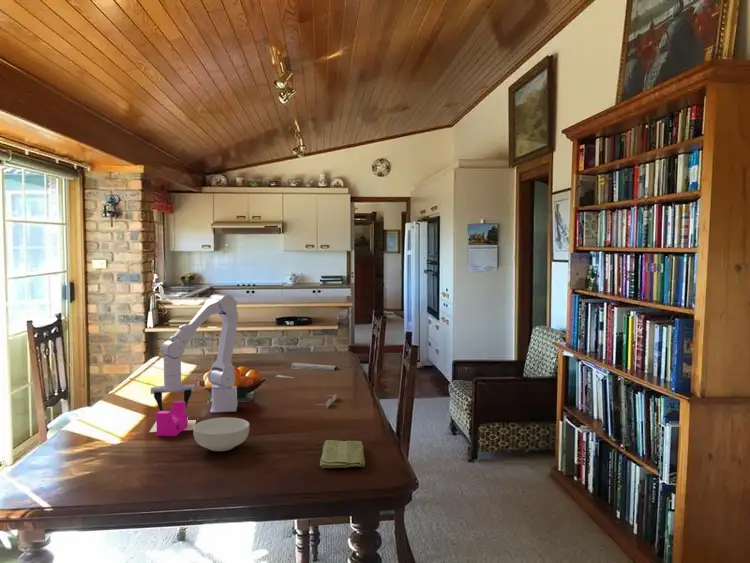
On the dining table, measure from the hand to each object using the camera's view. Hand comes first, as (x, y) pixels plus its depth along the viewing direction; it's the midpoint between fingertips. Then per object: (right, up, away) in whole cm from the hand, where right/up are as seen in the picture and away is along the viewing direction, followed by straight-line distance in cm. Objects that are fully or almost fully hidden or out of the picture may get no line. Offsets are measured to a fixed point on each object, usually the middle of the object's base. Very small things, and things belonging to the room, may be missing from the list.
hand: (173, 412), depth 200 cm
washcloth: (+62, -6, -33) cm, 71 cm away
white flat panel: (+1, -4, 0) cm, 4 cm away
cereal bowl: (+24, -5, -25) cm, 35 cm away
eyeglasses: (+51, -3, +23) cm, 56 cm away
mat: (+39, -1, +71) cm, 81 cm away
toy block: (+4, -4, -8) cm, 9 cm away
